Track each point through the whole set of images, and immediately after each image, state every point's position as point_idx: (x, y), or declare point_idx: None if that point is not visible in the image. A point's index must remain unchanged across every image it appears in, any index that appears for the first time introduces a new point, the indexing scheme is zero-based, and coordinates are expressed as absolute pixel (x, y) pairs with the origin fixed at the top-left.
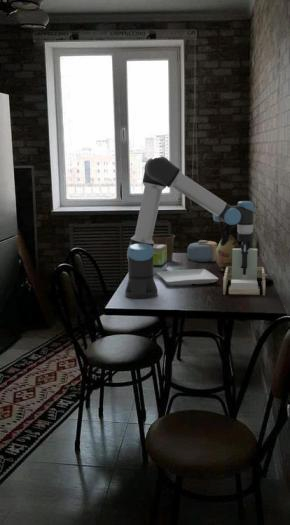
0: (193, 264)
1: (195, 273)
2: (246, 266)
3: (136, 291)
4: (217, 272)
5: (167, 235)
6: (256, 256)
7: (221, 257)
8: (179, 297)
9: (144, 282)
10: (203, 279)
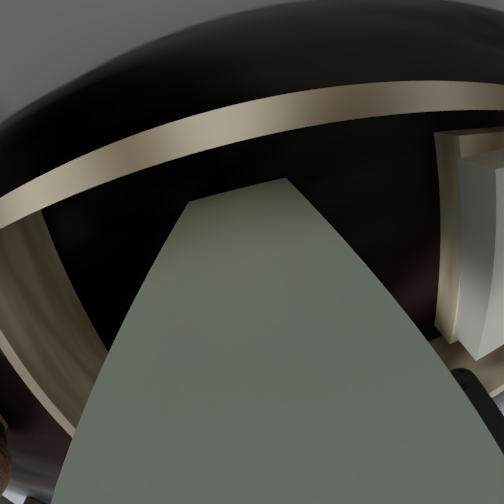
0: (15, 473)
1: None
2: (472, 379)
3: None
4: (36, 439)
5: None
6: (498, 488)
7: (1, 480)
8: (501, 403)
9: None
10: None
